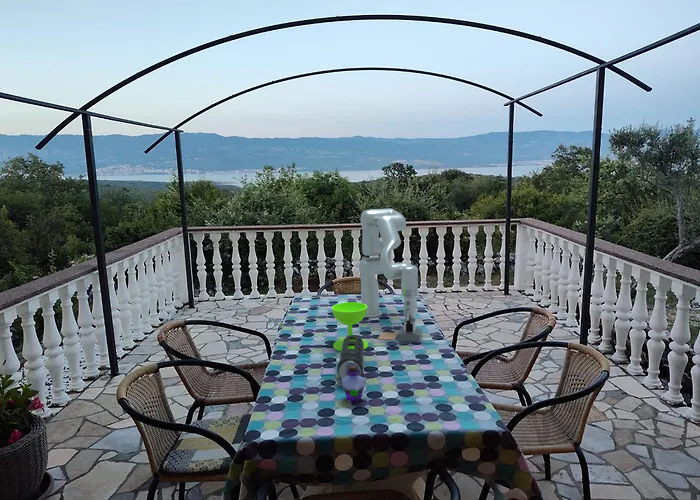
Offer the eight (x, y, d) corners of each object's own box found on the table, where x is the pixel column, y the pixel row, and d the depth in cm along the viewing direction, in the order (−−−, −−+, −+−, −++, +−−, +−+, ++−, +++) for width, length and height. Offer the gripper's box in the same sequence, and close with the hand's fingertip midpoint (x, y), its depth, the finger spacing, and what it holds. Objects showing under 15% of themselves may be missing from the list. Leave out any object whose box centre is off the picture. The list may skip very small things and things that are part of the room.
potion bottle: (347, 407, 158) (346, 373, 156) (337, 396, 166) (336, 364, 164) (370, 401, 161) (369, 368, 160) (360, 391, 169) (359, 359, 167)
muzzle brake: (364, 357, 201) (364, 334, 199) (363, 386, 173) (362, 359, 172) (342, 357, 202) (341, 334, 200) (337, 386, 174) (336, 360, 172)
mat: (377, 339, 221) (377, 338, 221) (381, 333, 230) (381, 332, 230) (394, 340, 219) (394, 339, 219) (398, 334, 228) (398, 333, 228)
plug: (404, 339, 221) (403, 320, 219) (405, 336, 224) (405, 318, 223) (415, 340, 219) (414, 321, 218) (416, 337, 223) (415, 318, 221)
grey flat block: (397, 340, 219) (397, 333, 218) (401, 334, 227) (401, 327, 227) (419, 342, 216) (419, 334, 216) (422, 335, 225) (422, 328, 224)
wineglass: (375, 344, 216) (374, 305, 213) (351, 354, 204) (350, 314, 201) (349, 336, 226) (348, 300, 224) (325, 346, 215) (324, 308, 212)
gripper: (415, 297, 209) (415, 336, 212) (420, 288, 225) (420, 325, 228) (398, 296, 211) (399, 335, 214) (404, 287, 227) (404, 324, 230)
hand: (410, 329), depth 221 cm, fingers closed on plug, 3 cm apart
